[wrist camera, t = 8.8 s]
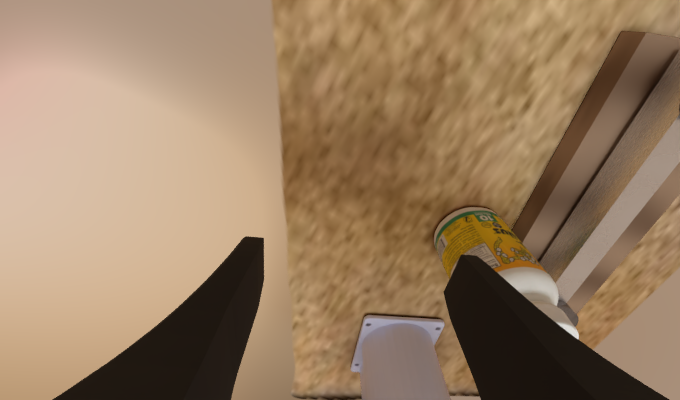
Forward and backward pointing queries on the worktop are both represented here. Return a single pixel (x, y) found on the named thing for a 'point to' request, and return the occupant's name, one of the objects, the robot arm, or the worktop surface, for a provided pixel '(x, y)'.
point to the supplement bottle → (499, 257)
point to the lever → (619, 189)
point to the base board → (601, 155)
